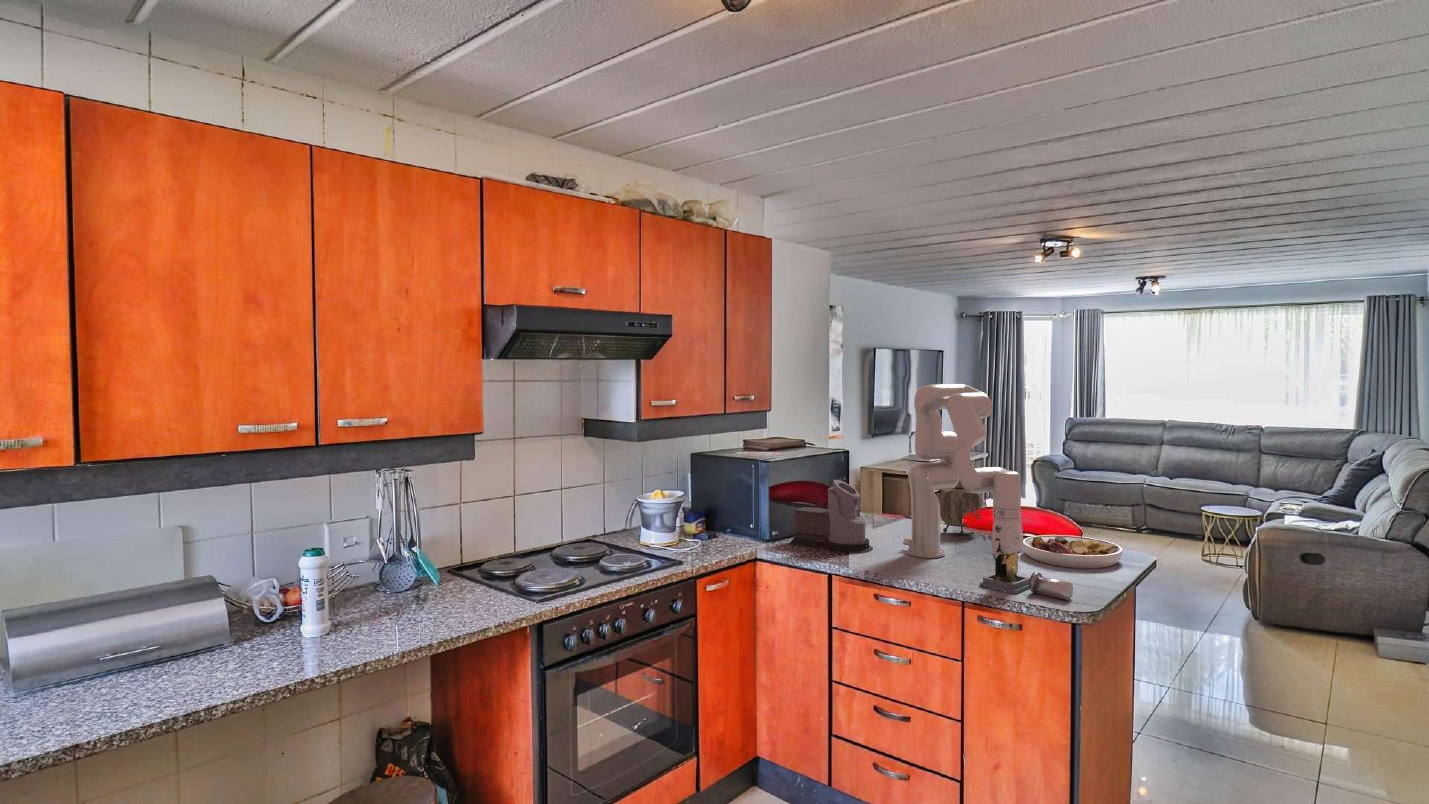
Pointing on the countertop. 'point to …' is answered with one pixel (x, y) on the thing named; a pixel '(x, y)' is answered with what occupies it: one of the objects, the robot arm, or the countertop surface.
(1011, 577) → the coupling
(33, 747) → the countertop surface
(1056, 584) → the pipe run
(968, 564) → the countertop surface
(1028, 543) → the bowl
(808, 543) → the juicer
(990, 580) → the grey square tray
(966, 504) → the tabletop clock
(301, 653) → the countertop surface
